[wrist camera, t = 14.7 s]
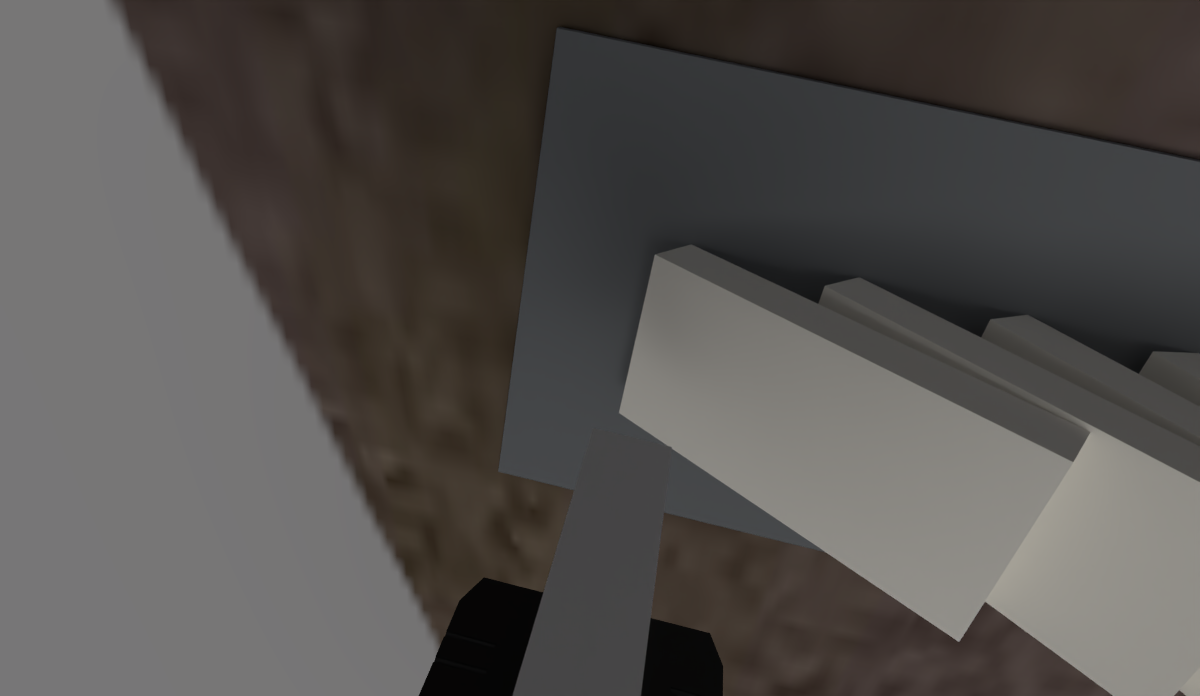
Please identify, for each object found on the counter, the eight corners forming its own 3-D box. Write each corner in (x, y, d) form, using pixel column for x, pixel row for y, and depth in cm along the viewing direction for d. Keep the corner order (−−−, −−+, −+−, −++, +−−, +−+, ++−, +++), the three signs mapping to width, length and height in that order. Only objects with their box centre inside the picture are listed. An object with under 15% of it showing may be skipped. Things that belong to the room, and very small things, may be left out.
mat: (560, 26, 18) (556, 27, 17) (1811, 287, 16) (1835, 294, 16) (501, 464, 25) (498, 471, 24) (1374, 678, 23) (1384, 689, 23)
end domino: (655, 254, 18) (1073, 462, 13) (691, 244, 19) (1090, 432, 14) (618, 413, 21) (959, 641, 16) (653, 395, 22) (981, 604, 17)
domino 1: (824, 285, 18) (1313, 542, 12) (859, 277, 19) (1328, 509, 13) (768, 442, 21) (1150, 722, 14) (801, 427, 22) (1171, 683, 15)
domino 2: (990, 319, 18) (1556, 638, 11) (1027, 314, 19) (1579, 609, 12) (913, 472, 21) (1333, 815, 13) (950, 461, 21) (1364, 782, 14)
